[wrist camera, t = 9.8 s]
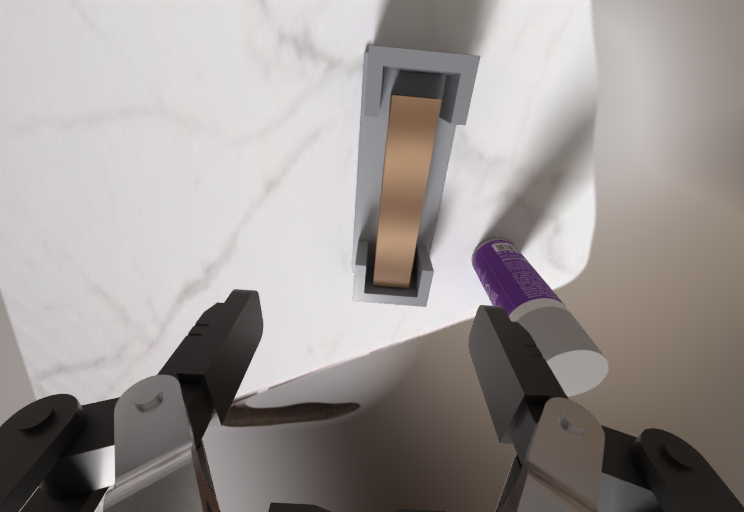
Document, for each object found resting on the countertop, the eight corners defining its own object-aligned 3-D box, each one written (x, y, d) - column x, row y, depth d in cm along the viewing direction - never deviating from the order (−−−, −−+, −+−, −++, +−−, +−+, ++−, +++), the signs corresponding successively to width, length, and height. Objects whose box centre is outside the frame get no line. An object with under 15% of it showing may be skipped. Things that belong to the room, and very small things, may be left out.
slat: (390, 93, 24) (392, 95, 21) (432, 97, 24) (441, 99, 21) (373, 263, 32) (372, 285, 29) (405, 266, 32) (408, 287, 29)
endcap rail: (364, 52, 23) (360, 44, 19) (466, 62, 24) (488, 56, 19) (352, 269, 33) (347, 300, 29) (423, 275, 33) (431, 307, 29)
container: (462, 256, 32) (518, 373, 19) (500, 228, 31) (590, 336, 17) (487, 282, 34) (555, 407, 21) (525, 257, 32) (624, 375, 19)
